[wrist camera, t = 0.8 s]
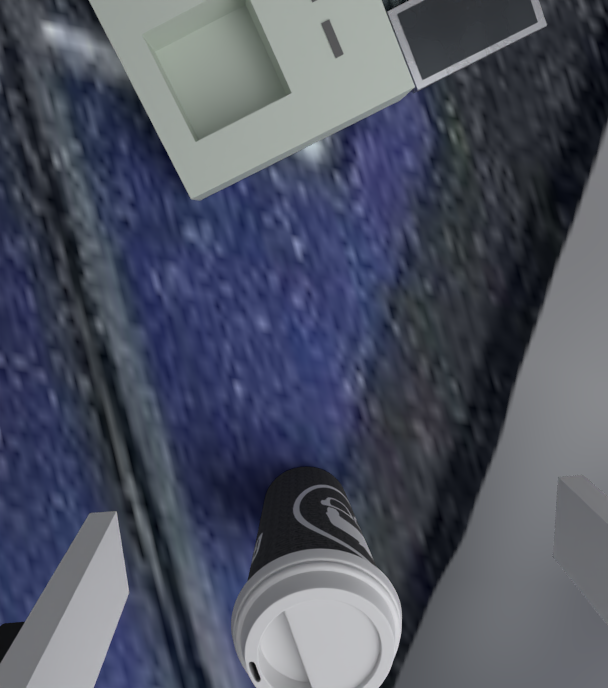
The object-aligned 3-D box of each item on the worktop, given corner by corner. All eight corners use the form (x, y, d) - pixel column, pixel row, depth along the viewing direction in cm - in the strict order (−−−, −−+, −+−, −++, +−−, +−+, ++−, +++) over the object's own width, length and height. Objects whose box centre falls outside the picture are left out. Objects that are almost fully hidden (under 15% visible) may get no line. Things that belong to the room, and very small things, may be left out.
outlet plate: (324, -91, 34) (330, -131, 30) (400, 100, 36) (415, 86, 32) (109, 22, 35) (87, -2, 31) (200, 200, 37) (190, 199, 33)
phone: (384, 17, 35) (387, 11, 34) (513, -49, 35) (520, -57, 34) (414, 93, 36) (418, 89, 35) (539, 30, 36) (547, 24, 35)
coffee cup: (249, 443, 42) (234, 568, 27) (372, 452, 42) (423, 578, 28) (240, 554, 44) (222, 724, 29) (357, 560, 45) (397, 730, 30)
